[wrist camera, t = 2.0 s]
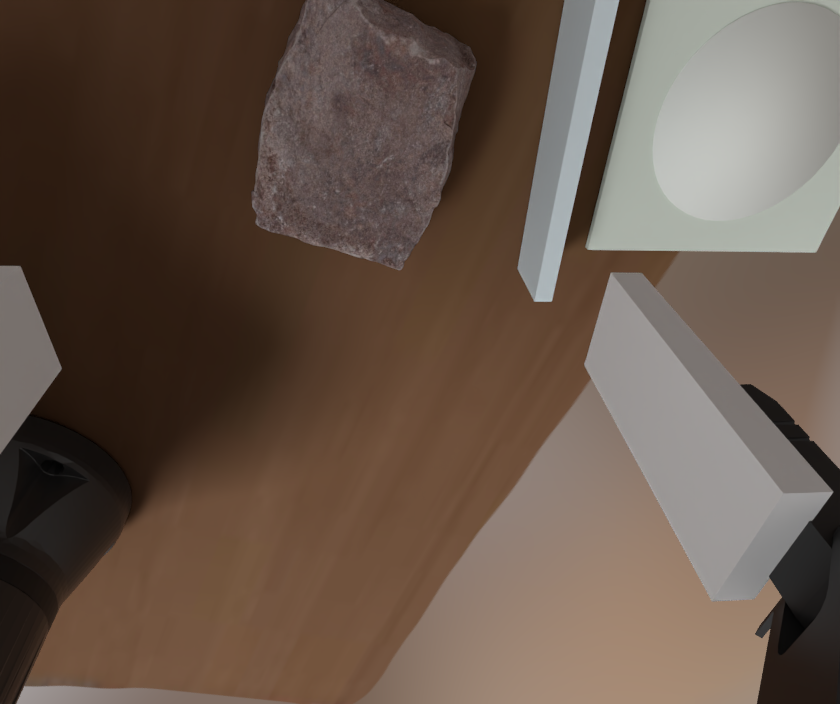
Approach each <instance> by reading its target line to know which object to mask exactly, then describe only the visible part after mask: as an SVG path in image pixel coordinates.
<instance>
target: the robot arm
mask: <svg viewBox="0 0 840 704" xmlns="http://www.w3.org/2000/svg"><path fill="white" fill-rule="evenodd" d="M584 366H585V367H586V369H587V371H588V373H589V375H590V377H591V379H592V380H593V382H594V384H595V386H596V387H597V390H598V391H599V393H600V395H601V397H602V399H603V401H604V403H605V404H606V406H607V408H608V410H609V412H610V414H611V416H612V417H613V419H614V421H615V423H616V425H617V427H618V428H619V430H620V432H621V434H622V436H623V438H624V440H625V441H626V443H627V445H628V447H629V449H630V451H631V453H632V454H633V456H634V458H635V460H636V461H637V464H638V465H639V467H640V469H641V471H642V473H643V475H644V477H645V478H646V480H647V482H648V484H649V486H650V488H651V489H652V491H653V493H654V495H655V497H656V499H657V501H658V502H659V504H660V506H661V508H662V510H663V512H664V514H665V515H666V517H667V519H668V521H669V523H670V525H671V526H672V528H673V530H674V532H675V534H676V536H677V537H678V539H679V541H680V543H681V545H682V547H683V549H684V551H685V552H686V554H687V556H688V558H689V560H690V562H691V564H692V565H693V567H694V569H695V571H696V573H697V575H698V576H699V578H700V580H701V582H702V584H703V586H704V587H705V589H706V591H707V593H708V595H709V597H710V599H711V601H730V600H748V599H755V597H756V596H757V595H758V593H759V592H760V591H761V589H762V588H763V587H764V585H765V584H766V582H767V581H768V580H769V578H770V579H771V580H772V582H773V583H774V585H775V587H776V588H777V590H778V591H779V593H780V594H781V596H782V598H781V599H780V601H779V602H778V603H777V604H776V606H775V607H774V608H773V610H772V611H771V612H770V613H769V615H768V616H767V617H766V618H765V620H764V621H763V622H762V623H761V625H760V626H759V628H758V630H757V632H756V633H755V634H756V635H757V636H759V637H761V638H763V636H764V635H765V634H766V632H767V631H768V630H769V629H771V630H770V635H769V641H768V646H767V652H766V657H765V662H764V668H763V673H762V679H761V685H760V691H759V695H758V701H757V704H840V469H839V468H838V467H837V466H836V465H835V464H834V463H833V462H832V461H831V460H830V459H829V458H828V457H827V455H826V454H825V453H824V452H823V451H822V450H821V449H820V448H819V447H818V446H817V444H815V442H814V441H810V440H809V436H808V435H807V434H806V433H805V432H804V431H803V429H802V428H801V427H800V426H799V425H795V424H794V420H793V419H792V418H791V416H790V415H789V414H788V413H787V412H786V411H785V410H784V409H783V408H782V407H781V406H780V405H779V404H778V402H777V401H775V400H774V399H772V398H771V397H769V396H768V395H766V394H765V393H763V392H762V391H760V390H759V389H757V388H756V387H754V386H753V385H751V384H748V385H747V384H745V385H739V383H738V382H737V381H736V380H735V379H734V378H733V377H732V375H731V374H730V373H729V372H728V371H727V370H726V369H725V367H724V366H723V365H722V364H721V363H720V362H719V361H718V360H717V358H716V357H715V356H714V355H713V354H712V353H711V351H710V350H709V349H708V348H707V347H706V346H705V345H704V344H703V342H702V341H701V340H700V339H699V338H698V337H697V336H696V334H695V333H694V332H693V331H692V330H691V329H690V328H689V327H688V325H687V324H686V323H685V322H684V321H683V320H682V318H681V317H680V316H679V315H678V314H677V313H676V312H675V310H674V309H673V308H672V307H671V306H670V305H669V304H668V303H667V301H666V300H665V299H664V298H663V297H662V296H661V294H660V293H659V292H658V291H657V290H656V289H655V288H654V286H653V285H652V284H651V283H650V282H649V281H648V280H647V278H646V277H645V276H644V275H643V274H642V273H611V274H610V278H609V281H608V284H607V288H606V291H605V295H604V298H603V302H602V305H601V309H600V312H599V316H598V319H597V323H596V326H595V330H594V333H593V337H592V340H591V344H590V347H589V351H588V354H587V357H586V361H585V364H584ZM61 369H62V368H61V365H60V363H59V360H58V358H57V355H56V353H55V350H54V348H53V345H52V343H51V340H50V338H49V335H48V333H47V330H46V328H45V326H44V323H43V321H42V318H41V316H40V313H39V311H38V308H37V306H36V303H35V301H34V298H33V296H32V293H31V291H30V288H29V286H28V283H27V281H26V278H25V276H24V274H23V271H22V269H21V266H0V704H16V703H17V701H18V699H19V697H20V694H21V692H22V690H23V688H24V685H25V683H26V681H27V679H28V677H29V674H30V672H31V670H32V668H33V665H34V663H35V661H36V659H37V657H38V654H39V652H40V650H41V648H42V645H43V643H44V641H45V639H46V636H47V634H48V632H49V630H50V627H51V625H52V623H53V621H54V619H55V617H56V614H57V612H58V610H59V608H60V606H61V605H62V603H63V602H64V601H65V600H66V599H67V598H68V596H69V595H70V594H71V593H72V592H73V591H74V590H75V589H76V587H77V586H78V585H79V584H80V583H81V582H82V581H83V580H84V578H85V577H86V576H87V575H88V574H89V573H90V571H91V570H92V569H93V568H94V567H95V565H96V564H97V563H98V562H99V561H100V559H101V558H102V557H103V556H104V555H105V554H106V553H107V552H108V551H109V550H110V549H111V548H112V547H113V545H114V544H115V543H116V541H117V539H118V538H119V536H120V534H121V532H122V529H123V527H124V524H125V522H126V520H127V517H128V515H129V512H130V509H131V504H132V494H131V489H130V486H129V483H128V480H127V478H126V476H125V475H124V473H123V471H122V470H121V468H120V467H119V466H118V465H117V463H116V462H115V461H114V460H113V459H112V458H111V457H110V456H109V455H108V454H107V453H106V452H104V451H103V450H102V449H101V448H100V447H98V446H97V445H95V444H94V443H93V442H91V441H90V440H88V439H86V438H85V437H83V436H81V435H79V434H77V433H76V432H74V431H72V430H69V429H67V428H65V427H63V426H60V425H58V424H55V423H52V422H50V421H47V420H44V419H40V418H37V417H33V416H29V414H30V412H31V411H32V410H33V408H34V407H35V405H36V404H37V403H38V401H39V400H40V398H41V397H42V396H43V394H44V393H45V392H46V390H47V389H48V387H49V386H50V385H51V383H52V382H53V380H54V379H55V378H56V376H57V375H58V374H59V372H60V371H61Z"/></svg>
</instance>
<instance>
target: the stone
mask: <svg viewBox="0 0 840 704" xmlns="http://www.w3.org/2000/svg"><path fill="white" fill-rule="evenodd" d="M476 65H477V61H476V59H475V57H474V55H473V53H472V51H471V48H470V47H469V46H467V45H465V44H463V43H461V42H459V41H458V40H457V39H455V38H454V37H453V36H451V35H450V34H448V33H443V32H442V31H440V30H439V29H437V28H435V27H430V26H428V25H425V24H424V23H422V22H421V21H420V20H419V19H417V18H416V17H415V16H414V15H413V14H411V13H409V12H406V11H404V10H402V9H400V8H398V7H396V6H394V5H393V4H390V3H388V2H386V1H384V0H306V1H305V3H304V4H303V6H302V9H301V13H300V17H299V20H298V22H297V24H296V26H295V28H294V29H293V31H292V33H291V34H290V36H289V37H288V42H287V47H286V50H285V53H284V55H283V56H282V58H281V59H280V60H279V61H278V68H277V73H276V77H275V78H274V79H273V82H272V84H271V87H270V89H269V91H268V92H267V95H266V99H265V108H264V112H263V117H262V122H261V130H260V136H259V143H258V156H259V158H258V164H257V169H256V183H255V188H254V190H253V191H252V207H253V208H254V210H255V212H256V214H257V217H256V221H255V222H256V225H257V226H259V227H261V228H263V229H265V230H268V231H270V232H274V233H278V234H283V235H286V236H290V237H294V238H297V239H299V240H301V241H303V242H305V243H308V244H311V245H314V246H321V247H326V248H331V249H334V250H338V251H340V252H341V253H347V254H349V255H352V256H355V257H358V258H362V259H364V258H365V259H368V260H370V261H375V262H378V263H381V264H383V265H386V266H388V267H391V268H394V269H397V270H401V269H402V268H403V266H404V261H405V260H406V259H407V258H408V257H409V255H410V253H411V251H412V250H413V248H414V246H415V245H416V244H417V243H418V241H419V239H420V238H421V236H422V234H423V232H424V230H425V229H426V227H427V226H428V224H429V222H430V219H431V215H432V212H433V209H434V208H435V207H437V206H438V204H439V202H440V200H441V191H442V189H443V186H444V185H445V183H446V180H447V178H448V176H449V174H450V171H451V166H452V160H453V153H454V141H455V135H456V133H457V132H458V122H459V120H460V117H461V112H462V108H463V105H464V102H465V100H466V98H467V95H468V92H469V88H470V84H471V81H472V79H473V76H474V73H475V70H476Z"/></svg>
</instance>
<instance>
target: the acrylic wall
mask: <svg viewBox="0 0 840 704" xmlns="http://www.w3.org/2000/svg"><path fill="white" fill-rule="evenodd" d="M618 4H619V0H564V6H563V12H562V17H561V23H560V29H559V34H558V40H557V46H556V52H555V57H554V63H553V69H552V74H551V80H550V86H549V91H548V97H547V103H546V109H545V114H544V120H543V126H542V131H541V137H540V143H539V148H538V154H537V160H536V166H535V171H534V177H533V183H532V188H531V194H530V200H529V205H528V211H527V217H526V223H525V228H524V234H523V240H522V245H521V251H520V257H519V263H518V268H517V269H518V271H519V273H520V275H521V277H522V279H523V280H524V282H525V284H526V286H527V288H528V290H529V292H530V294H531V296H532V298H533V300H534V302H552V298H553V294H554V289H555V285H556V280H557V276H558V272H559V267H560V263H561V258H562V254H563V249H564V245H565V240H566V236H567V231H568V227H569V222H570V218H571V213H572V209H573V205H574V200H575V196H576V191H577V187H578V182H579V178H580V173H581V169H582V164H583V160H584V155H585V151H586V146H587V142H588V138H589V133H590V129H591V124H592V120H593V115H594V111H595V106H596V102H597V97H598V93H599V88H600V84H601V79H602V75H603V71H604V66H605V62H606V57H607V53H608V48H609V44H610V39H611V35H612V30H613V26H614V21H615V17H616V12H617V8H618Z"/></svg>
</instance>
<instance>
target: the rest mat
mask: <svg viewBox="0 0 840 704" xmlns="http://www.w3.org/2000/svg"><path fill="white" fill-rule="evenodd" d="M839 207H840V0H647V1H646V5H645V9H644V13H643V17H642V21H641V25H640V29H639V33H638V37H637V41H636V45H635V49H634V53H633V57H632V61H631V66H630V70H629V74H628V78H627V82H626V86H625V90H624V94H623V98H622V102H621V106H620V110H619V114H618V118H617V122H616V126H615V130H614V134H613V138H612V142H611V146H610V150H609V154H608V158H607V162H606V166H605V170H604V174H603V178H602V182H601V186H600V190H599V194H598V198H597V202H596V207H595V211H594V215H593V219H592V223H591V227H590V231H589V235H588V239H587V243H586V248H587V250H648V251H732V252H735V251H736V252H739V251H740V252H741V251H742V252H816V251H817V249H818V247H819V246H820V244H821V242H822V240H823V238H824V235H825V234H826V232H827V230H828V228H829V226H830V224H831V222H832V220H833V218H834V216H835V214H836V212H837V210H838V209H839Z"/></svg>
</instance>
